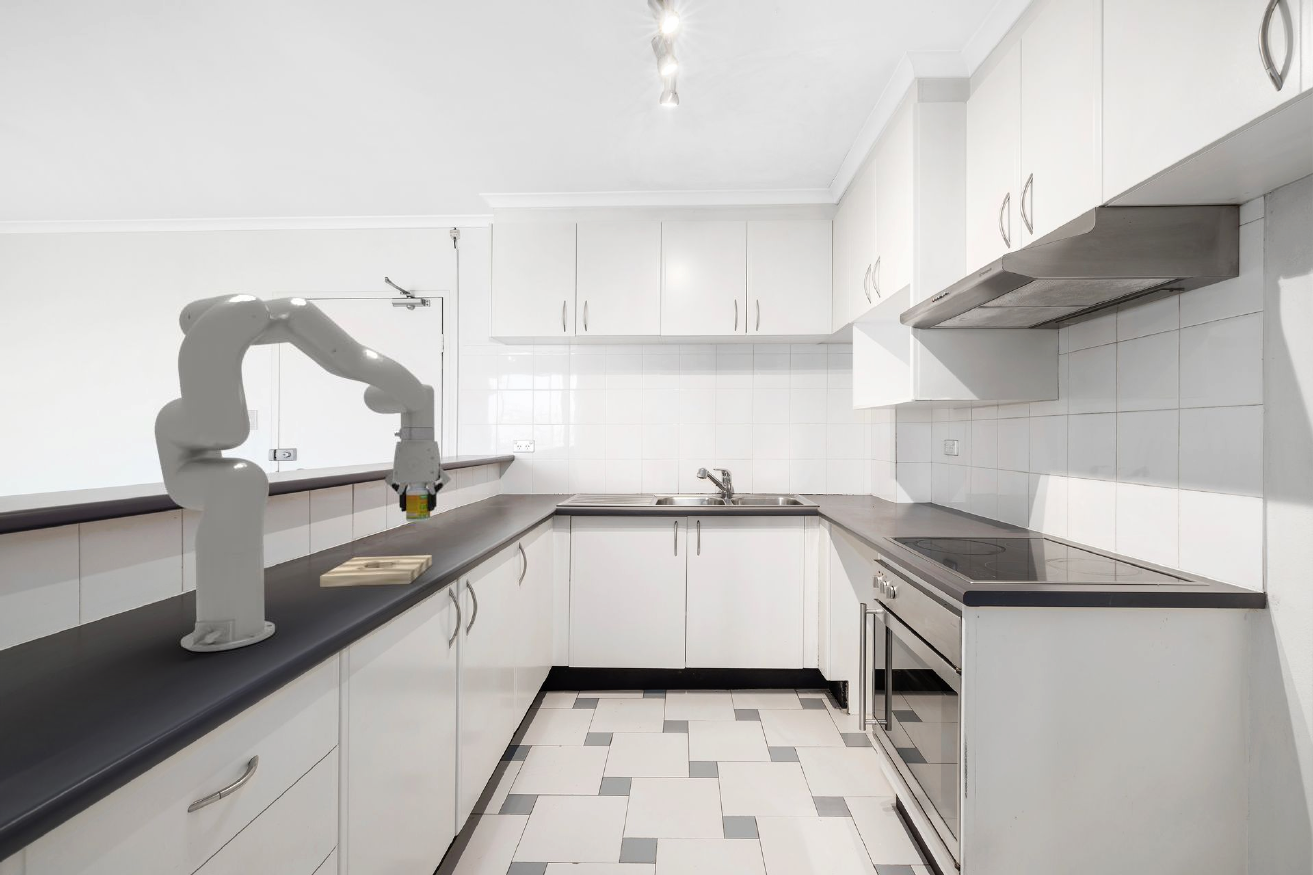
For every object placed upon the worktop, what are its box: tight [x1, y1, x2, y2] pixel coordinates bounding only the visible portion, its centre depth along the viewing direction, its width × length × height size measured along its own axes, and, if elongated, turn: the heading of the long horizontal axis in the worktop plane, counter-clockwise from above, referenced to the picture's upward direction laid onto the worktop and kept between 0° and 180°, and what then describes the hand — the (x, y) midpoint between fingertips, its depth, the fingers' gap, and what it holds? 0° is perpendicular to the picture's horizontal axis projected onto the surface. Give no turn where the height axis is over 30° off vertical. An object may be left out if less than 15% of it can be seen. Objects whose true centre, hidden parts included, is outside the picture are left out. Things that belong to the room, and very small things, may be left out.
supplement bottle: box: [405, 483, 431, 523], centre depth 138 cm, size 5×5×10 cm
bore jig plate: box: [319, 554, 433, 588], centre depth 145 cm, size 20×20×2 cm
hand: (418, 509), depth 138 cm, fingers closed on supplement bottle, 5 cm apart
